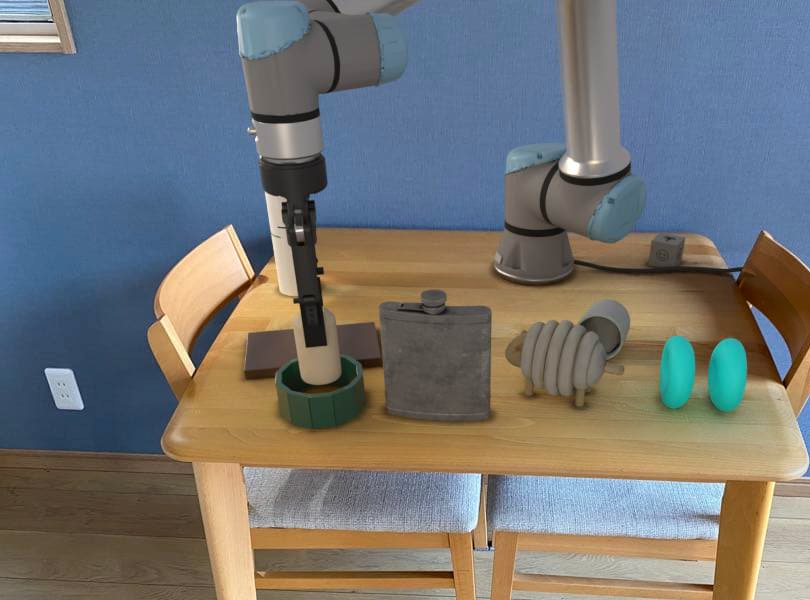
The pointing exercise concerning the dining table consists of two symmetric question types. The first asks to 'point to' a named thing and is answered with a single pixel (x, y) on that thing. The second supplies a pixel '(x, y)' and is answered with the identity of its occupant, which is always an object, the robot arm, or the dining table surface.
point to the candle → (318, 353)
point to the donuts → (722, 374)
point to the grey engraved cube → (666, 250)
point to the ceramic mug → (608, 324)
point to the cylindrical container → (281, 246)
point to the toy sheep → (560, 359)
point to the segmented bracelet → (321, 396)
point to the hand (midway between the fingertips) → (315, 333)
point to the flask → (436, 359)
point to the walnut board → (280, 347)
